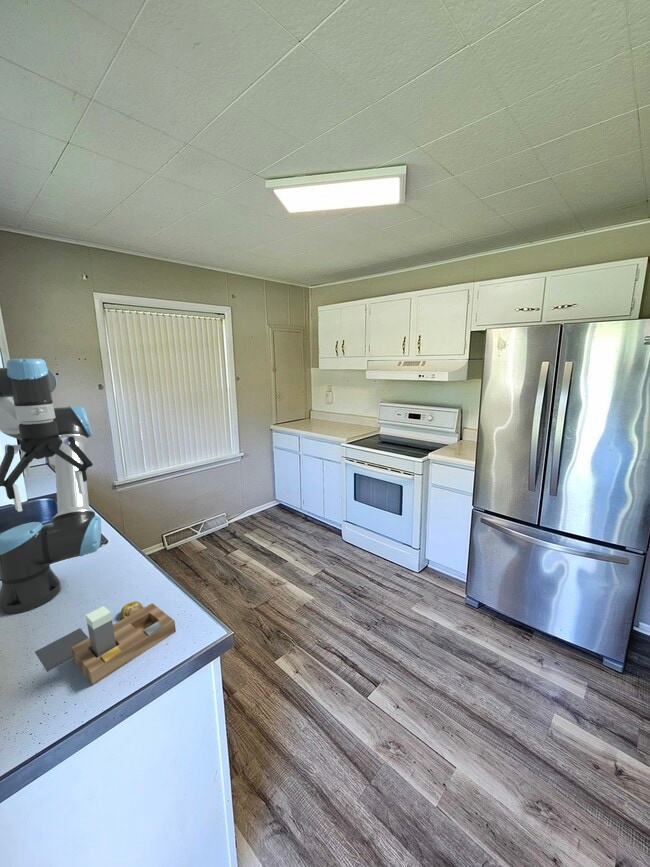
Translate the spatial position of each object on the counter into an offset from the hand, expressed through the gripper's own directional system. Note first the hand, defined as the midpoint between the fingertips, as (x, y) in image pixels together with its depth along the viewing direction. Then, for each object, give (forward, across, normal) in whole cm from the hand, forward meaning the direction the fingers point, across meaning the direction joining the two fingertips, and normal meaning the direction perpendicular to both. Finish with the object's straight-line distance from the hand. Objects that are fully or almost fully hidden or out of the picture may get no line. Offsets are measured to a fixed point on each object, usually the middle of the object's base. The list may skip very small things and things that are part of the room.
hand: (52, 501), depth 92 cm
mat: (+37, -5, -9) cm, 38 cm away
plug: (+36, 0, -21) cm, 41 cm away
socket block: (+37, +5, -21) cm, 43 cm away
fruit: (+37, +11, -12) cm, 40 cm away
